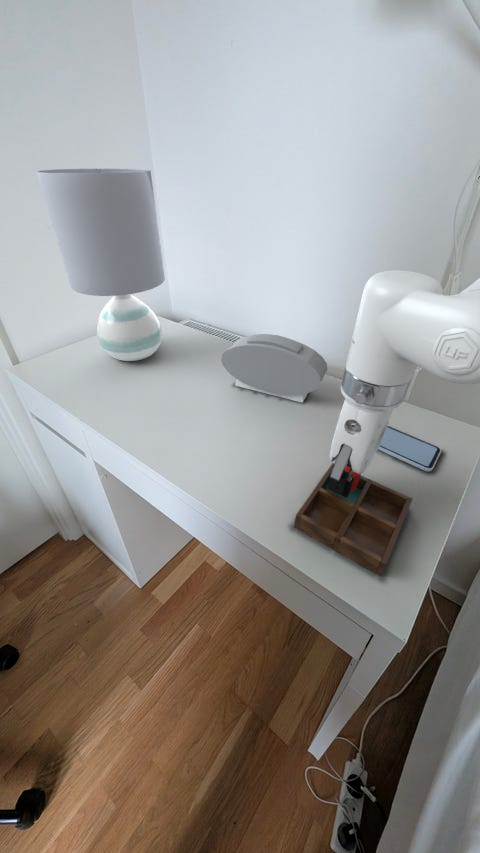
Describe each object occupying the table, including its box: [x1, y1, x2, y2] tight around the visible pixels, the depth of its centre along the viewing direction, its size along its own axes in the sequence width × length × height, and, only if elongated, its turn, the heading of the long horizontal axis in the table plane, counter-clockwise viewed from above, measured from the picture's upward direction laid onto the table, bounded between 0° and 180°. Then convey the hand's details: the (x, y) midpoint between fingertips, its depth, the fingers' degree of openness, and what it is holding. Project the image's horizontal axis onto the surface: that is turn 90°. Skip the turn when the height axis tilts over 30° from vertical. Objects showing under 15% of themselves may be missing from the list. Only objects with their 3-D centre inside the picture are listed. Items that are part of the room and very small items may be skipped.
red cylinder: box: [345, 466, 362, 492], centre depth 52 cm, size 4×4×4 cm
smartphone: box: [378, 425, 442, 473], centre depth 64 cm, size 7×1×15 cm
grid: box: [293, 462, 413, 577], centre depth 51 cm, size 13×13×3 cm
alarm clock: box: [220, 333, 328, 403], centre depth 76 cm, size 23×6×13 cm, turn 65°
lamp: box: [36, 167, 166, 362], centre depth 80 cm, size 22×22×40 cm
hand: (344, 481), depth 53 cm, fingers closed on red cylinder, 4 cm apart
